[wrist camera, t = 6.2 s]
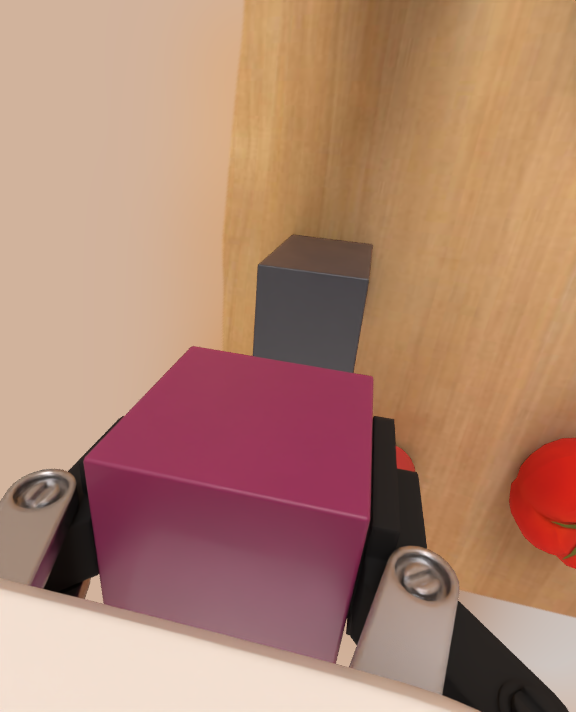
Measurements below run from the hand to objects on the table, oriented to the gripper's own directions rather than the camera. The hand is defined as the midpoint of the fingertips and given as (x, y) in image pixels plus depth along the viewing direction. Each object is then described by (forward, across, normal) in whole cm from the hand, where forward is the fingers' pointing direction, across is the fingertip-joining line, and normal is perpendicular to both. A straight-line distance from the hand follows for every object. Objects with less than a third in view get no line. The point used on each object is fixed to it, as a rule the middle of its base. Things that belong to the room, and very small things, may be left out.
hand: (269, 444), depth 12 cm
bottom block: (+23, +1, +1) cm, 23 cm away
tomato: (+23, -21, +14) cm, 34 cm away
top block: (0, 0, 0) cm, 0 cm away
